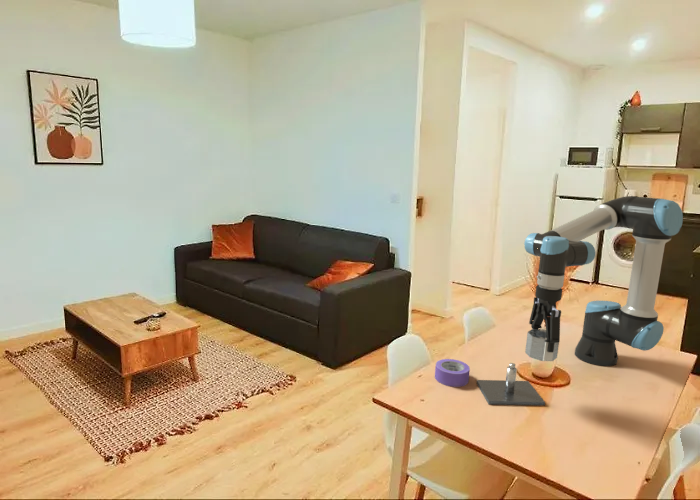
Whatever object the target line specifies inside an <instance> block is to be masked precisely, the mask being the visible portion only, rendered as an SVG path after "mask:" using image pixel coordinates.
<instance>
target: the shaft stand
mask: <svg viewBox="0 0 700 500" xmlns="http://www.w3.org/2000/svg"><path fill="white" fill-rule="evenodd" d="M517 371H518V369H517V367H516V364H515V363H513V362H509V365H508V366H507V367H506V376H505V379H504V380H499V379H497V380H496V379H494V380H493V379H476V385H477V387H478V388H479V390H480V392H481V394H482V395H483V397H484V400H486V402H487V404H488V405H491V406H492V405H494V406H495V405H496V406H499V405H500V406H539V407H540V406H542V407H543V406H545V405H546V402H545V400H544V399H543V397H541V395H540V394H539V392H538V391H537V390H536V389H535V388H534V386H533V385H532V384H531V383H530V381H529V380H517V379H516V378H517Z"/></svg>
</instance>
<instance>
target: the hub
mask: <svg viewBox="0 0 700 500" xmlns="http://www.w3.org/2000/svg"><path fill="white" fill-rule="evenodd" d="M545 340H547V336H546V329H543V328H538V329H532V328H531V329H530V330H528V331H527V336H526V340H525V341H526V343H525V351H524V352H525V354H526V355H527V356H528V357H529V358H531V359H534V360H538V361H540V362H544V361H543V353H544V346H545ZM559 346H560V342H559V343H555V344H554V352H553V359H552V361H551V362H554V361H555V360H556V359H557V358H558V353H559Z"/></svg>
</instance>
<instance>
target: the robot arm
mask: <svg viewBox="0 0 700 500" xmlns="http://www.w3.org/2000/svg"><path fill="white" fill-rule="evenodd" d="M683 214H684V213H683V210H682V208H681V207H680V205H679V203H677V201H675V200H670V199H666V198H657V197H644V196H636V195H635V196H633V195H628V196H621V197H618V198H614V199H611V200H608V201H605V202H603V203H600V204H598V205H597V206H595V207H594V209H593V210H592V211H590V212H587V213H586V214H584V215H581V216H579V217H577V218H575V219H573V220H570V221H568V222H566V223H564V224H561V225H559V226H558V227H555V228H553V229H551V230H548V231H546V232H544V233H539V232H532V233H530V234H528V235H527V236H526V238H524V239H525V240H524V243H523V244H524V250H525V251H526V252H527V253H528V254H529V255H533V256H534V257H539V263H538V272H537V275H536V279H537V280H536V284H537V285H536V287H535V294H534V295H535V296H534V297H533V303H532V304H533V305H532V310H531V313H530V316H529V317H530V318H529V322H528V324H529V325H530V326H531V330H532V329H543V327H542V324H543V322H545V323H544V324H545V330H546V336H547V340H545V346H544V353H543V361H542V362H553V361H552V359H553V352H554V344H555V343H559V344H560V342H561V341H560V338H561V337H560V335H561V316H562V310H560V309H557V302H559V301H560V302H561V300H562V295H563V289H562V288H563V287H564V283H565V282H564V281H565V273H566V272H565V271H566V268H568V267H579V266H585V265H589V264H590V263H592V262H593V261H594V260H595V258H596V249H595V247H594V245H593V244H592V243H591V242H589V241H584V240H585V239H586V238H588V237H589V238H590V236H593V235H594V234H597V233H599V232H602V231H603V230H611V229H614V228H623V229H624V228H626V229H630V230H632V234H631V236H632V237H633V238H634V240H635V245H634V246H635V247H634V252H633V258H632V265H631V271H630V278H629V285H628V291H627V298H626V303H625V304H624V305H623V306H621V304H620V303H619V302H616V301H611V300H610V301H609V300H592V301H589V302H588V303H587V304H586V306H585V311H584V319H583V327H582V333H581V334H582V335H581V337H580V338H579V340H578V343H577V345H576V346H575V348H574V356H575V357H577V359H579V360H581V361H583V362H585V363H588V364H592V365H595V366H601V367H602V366H603V367H604V366H605V367H611V366H614V365H617V363H618V359H619V356H618V355H619V354H618V350H617V346H616V341H617V342H619V343H620V344H621V343H622V344H625V345H626V346H629V347H631V348H633V349H637V350H641V351H646V352H647V351H650V350H652V349H653V348H654V347H655V346H656V345H657V344H658V343H659V342H660V340H661V338H663V337H662V336H663V334H664V330H665V329H664V328H665V327H664V325H663V323H662V322H661V321H659V320H658V317H659V314H658V312H657V311H656V310H655V305H656V298H657V293H658V288H659V281H660V274H661V269H662V263H663V257H664V252H665V245H666V243H668V242H670V241H671V240H672V237H673V236H675V235H677V234H678V233H679V232H680V230H681V228H682V225H683V221H684V220H683V219H684V215H683ZM537 248H538V249H537Z"/></svg>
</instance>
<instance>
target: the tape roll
mask: <svg viewBox="0 0 700 500" xmlns="http://www.w3.org/2000/svg"><path fill="white" fill-rule="evenodd" d="M470 371H471V369H470V366H469V365H468V363H465V362H464V361H461V360H458V359H453V358H452V359H451V358H444V359H443V358H442V359H439V360H437V361H436V363H435V369H434V379H435V381H437V382H438V383H440V384H441V385H444V386H447V387H452V388H455V387H456V388H457V387H459V388H460V387H464V386H466V385H467V384H469V381H470V380H469V379H470V373H471V372H470Z"/></svg>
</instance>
